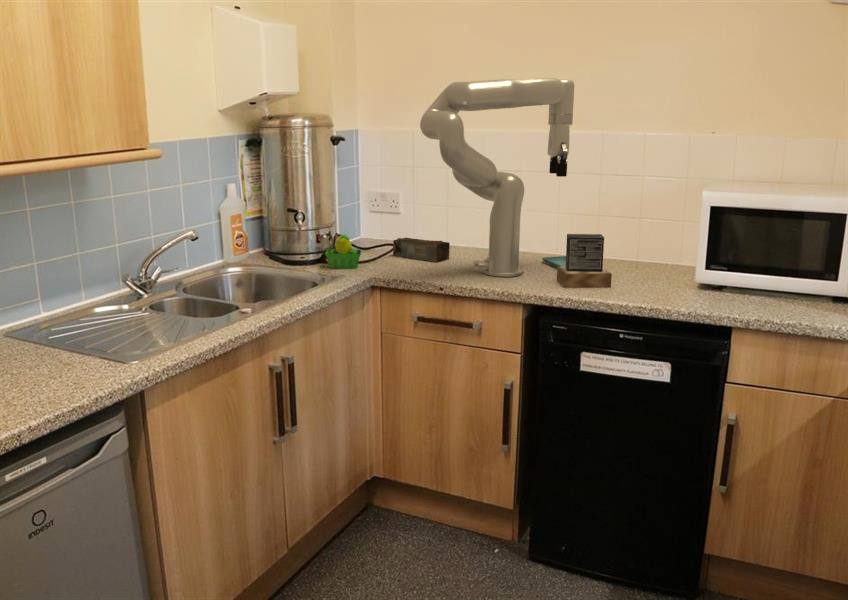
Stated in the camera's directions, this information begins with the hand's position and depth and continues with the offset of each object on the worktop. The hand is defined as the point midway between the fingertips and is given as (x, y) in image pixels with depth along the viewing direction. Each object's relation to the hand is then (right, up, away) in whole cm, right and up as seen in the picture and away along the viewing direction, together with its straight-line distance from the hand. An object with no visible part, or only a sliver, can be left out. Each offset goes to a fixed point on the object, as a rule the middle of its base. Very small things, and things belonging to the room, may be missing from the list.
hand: (557, 174), depth 254 cm
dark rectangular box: (-44, -26, +22) cm, 55 cm away
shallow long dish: (+5, -31, +5) cm, 32 cm away
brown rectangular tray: (+5, -35, -14) cm, 38 cm away
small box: (+5, -31, -15) cm, 35 cm away
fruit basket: (-69, -30, +6) cm, 76 cm away
